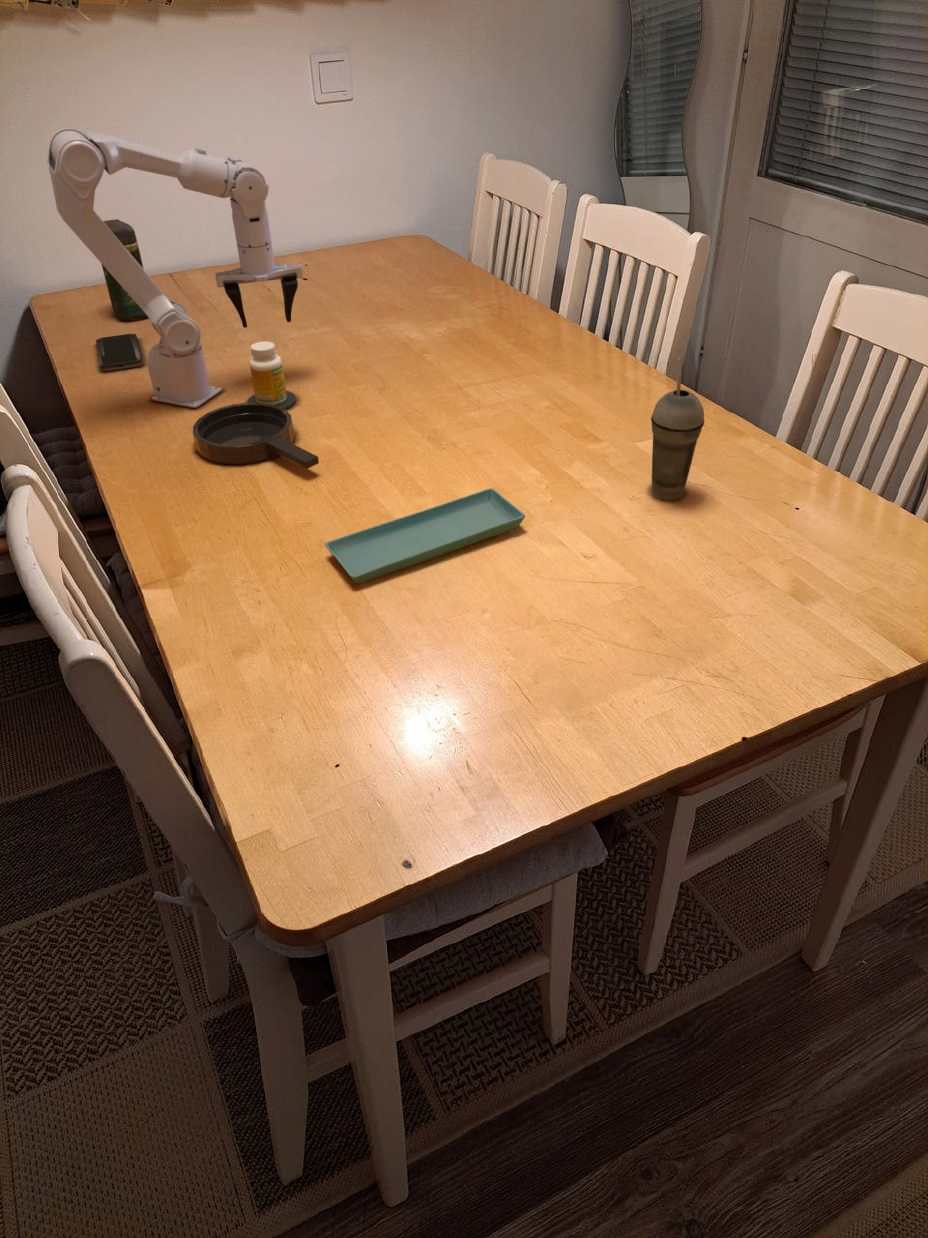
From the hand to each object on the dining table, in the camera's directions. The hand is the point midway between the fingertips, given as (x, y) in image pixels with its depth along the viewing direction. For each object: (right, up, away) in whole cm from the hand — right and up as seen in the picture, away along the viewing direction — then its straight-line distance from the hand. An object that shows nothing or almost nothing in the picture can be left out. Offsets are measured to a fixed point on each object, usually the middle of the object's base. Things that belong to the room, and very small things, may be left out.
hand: (266, 322), depth 160 cm
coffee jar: (-36, +13, +35) cm, 51 cm away
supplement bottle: (+1, -14, -2) cm, 14 cm away
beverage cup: (+65, -34, -28) cm, 78 cm away
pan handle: (+8, -27, -21) cm, 35 cm away
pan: (-1, -24, -13) cm, 27 cm away
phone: (-32, -1, +17) cm, 36 cm away
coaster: (+1, -14, -1) cm, 15 cm away
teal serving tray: (+30, -42, -37) cm, 63 cm away
